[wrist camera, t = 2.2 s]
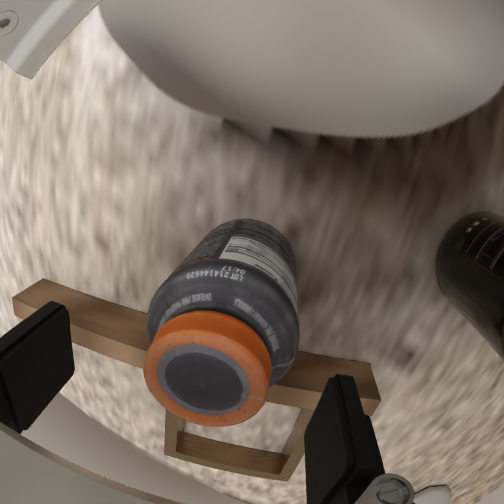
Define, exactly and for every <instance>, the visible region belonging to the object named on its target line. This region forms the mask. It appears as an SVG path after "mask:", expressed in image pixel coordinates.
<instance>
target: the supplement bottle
mask: <svg viewBox="0 0 504 504" xmlns="http://www.w3.org/2000/svg"><path fill="white" fill-rule="evenodd" d="M437 272H438V280H439V284H440V287H441V290H442V292H443V294H444V295H445V297H446V298H447V299H448V301H449V302H450V303H451V304H452V305H453V306H454V307H455V308H456V309H457V310H458V311H459V312H460V313H461V314H462V315H463V316H464V317H465V318H466V319H467V321H468V322H469V323H470V324H471V325H472V326H473V327H474V328H475V329H476V330H477V331H478V332H479V333H480V334H481V335H482V337H483V338H484V339H485V340H486V341H487V342H488V343H489V344H490V345H491V346H492V348H493V349H494V350H495V351H496V352H497V353H498V354H499V355H500V357H501V358H502V359H503V360H504V217H503V216H500V215H497V214H493V213H489V212H476V213H472V214H470V215H467V216H466V217H464V218H462V219H461V220H460V221H459V222H457V223H456V224H455V225H454V227H453V228H452V229H451V230H450V232H449V233H448V235H447V236H446V238H445V240H444V242H443V244H442V247H441V250H440V253H439V258H438V267H437Z"/></svg>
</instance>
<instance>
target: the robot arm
mask: <svg viewBox="0 0 504 504" xmlns="http://www.w3.org/2000/svg"><path fill="white" fill-rule="evenodd" d="M74 370H75V366H74V358H73V350H72V340H71V329H70V316H69V312H68V311H67V309H66V306H65V305H63V304H60V303H57V302H55V301H49V302H48V303H47V304H45V305H44V306H42V307H41V308H40V309H38V310H37V311H35V312H34V313H33V314H31V315H30V316H29V317H27V318H26V319H24V320H23V321H22V322H20V323H19V324H18V325H16V326H15V327H14V328H12V329H11V330H10V331H8V332H7V333H6V334H4V335H3V336H2V337H1V338H0V504H184V503H180V502H176V501H173V500H169V499H166V498H163V497H159V496H156V495H153V494H150V493H146V492H143V491H140V490H137V489H135V488H131V487H129V486H126V485H124V484H121V483H118V482H116V481H113V480H111V479H108V478H105V477H103V476H101V475H98V474H96V473H93V472H91V471H89V470H87V469H85V468H82V467H80V466H78V465H76V464H74V463H71V462H69V461H67V460H66V459H63V458H61V457H60V456H58V455H56V454H53V453H52V452H50V451H48V450H46V449H44V448H43V447H41V446H39V445H37V444H35V443H34V442H32V441H30V440H28V439H27V438H25V437H23V436H22V435H20V434H21V432H22V431H23V430H27V429H28V428H29V427H30V426H31V425H32V424H33V422H34V421H35V420H36V418H37V417H38V416H39V415H40V414H41V413H42V411H43V410H44V409H45V408H46V407H47V405H48V404H49V403H50V402H51V401H52V399H53V398H54V397H55V395H57V393H58V392H59V391H60V390H61V389H62V387H63V386H64V385H65V384H66V383H67V382H68V380H69V379H70V378H71V377H72V376H73V374H74ZM304 447H305V468H306V493H307V504H415V503H414V502H413V500H414V498H415V495H414V489H413V487H412V485H411V484H410V483H409V481H408V480H406V479H405V478H403V477H402V476H399V475H397V474H390V473H389V474H385V470H384V466H383V462H382V459H381V455H380V451H379V448H378V444H377V440H376V437H375V433H374V430H373V426H372V423H371V419H370V417H369V416H368V415H367V414H364V411H363V407H362V404H361V400H360V397H359V393H358V390H357V386H356V383H355V380H354V377H353V376H349V375H342V374H336V375H335V377H334V378H333V377H330V378H329V379H328V382H327V384H326V386H325V388H324V391H323V393H322V395H321V398H320V400H319V402H318V404H317V406H316V409H315V411H314V413H313V415H312V417H311V419H310V421H309V423H308V426H307V428H306V430H305V434H304Z"/></svg>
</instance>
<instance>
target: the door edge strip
mask: <svg viewBox="0 0 504 504" xmlns="http://www.w3.org/2000/svg"><path fill="white" fill-rule="evenodd" d="M12 301H13V308H14V314H15V316H17V317H19V318H21V319H23V320H24V319H26V318H27V317H29V316H30V315H31V314H33V313H34V312H35V311H37V310H38V309H40V308H41V307H42V306H44V305H45V304H47V303H48V302H49V301H55V302H57V303H60V304H63V305H65V306H66V309H67V311H68V312H69V316H70V329H71V340H72V342H73V343H76V344H78V345H80V346H83V347H85V348H88V349H90V350H93V351H95V352H98V353H100V354H103V355H106V356H108V357H111V358H114V359H116V360H119V361H122V362H125V363H127V364H130V365H133V366H136V367H139V368H142V369H143V365H144V359H145V356H146V353H147V351H148V349H149V347H150V342H149V338H148V332H147V317H148V314H146V313H143V312H139V311H136V310H133V309H130V308H126V307H123V306H120V305H117V304H114V303H111V302H108V301H105V300H102V299H99V298H96V297H93V296H90V295H87V294H84V293H81V292H78V291H75V290H73V289H70V288H67V287H64V286H62V285H59V284H56V283H54V282H51V281H48V280H46V279H42V280H40V281H38V282H37V283H35V284H33V285H32V286H30V287H28V288H27V289H25V290H24V291H22V292H20V293H19V294H17V295H16V296H14V297H12ZM336 374H342V375H349V376H353V377H354V380H355V383H356V386H357V390H358V393H359V397H360V400H361V404H362V407H363V411H364V414H367V415H368V416H372V415H373V413H374V412H375V410H376V408H377V406H378V405H379V403H380V401H381V398H380V395H379V391H378V388H377V385H376V382H375V379H374V376H373V373H372V370H371V366H370V364H369V363H363V362H356V361H350V360H344V359H338V358H332V357H326V356H321V355H315V354H310V353H305V352H300V351H297V354H296V356H295V359H294V361H293V364H292V365H291V367H290V368H289V370H288V371H287V373H286V374H285V375H284V376H283V377H282V378H281V379H280V380H279V381H278V382H276V383H275V384H274V385H273V386H271V387H270V388H269V389H268V395H267V399H266V401H267V402H272V403H277V404H282V405H288V406H294V407H300V408H306V409H313V410H315V409H316V406H317V404H318V402H319V400H320V398H321V395H322V393H323V391H324V388H325V386H326V384H327V382H328V379H329V378H330V377H333V378H334V377H335V375H336Z"/></svg>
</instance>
